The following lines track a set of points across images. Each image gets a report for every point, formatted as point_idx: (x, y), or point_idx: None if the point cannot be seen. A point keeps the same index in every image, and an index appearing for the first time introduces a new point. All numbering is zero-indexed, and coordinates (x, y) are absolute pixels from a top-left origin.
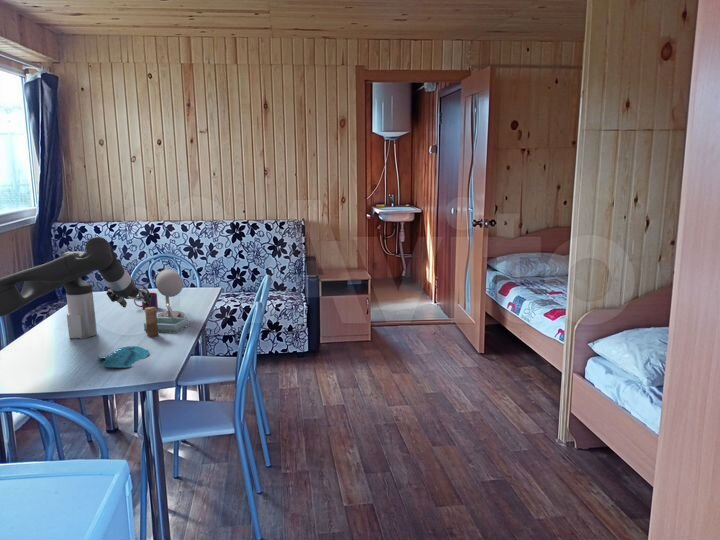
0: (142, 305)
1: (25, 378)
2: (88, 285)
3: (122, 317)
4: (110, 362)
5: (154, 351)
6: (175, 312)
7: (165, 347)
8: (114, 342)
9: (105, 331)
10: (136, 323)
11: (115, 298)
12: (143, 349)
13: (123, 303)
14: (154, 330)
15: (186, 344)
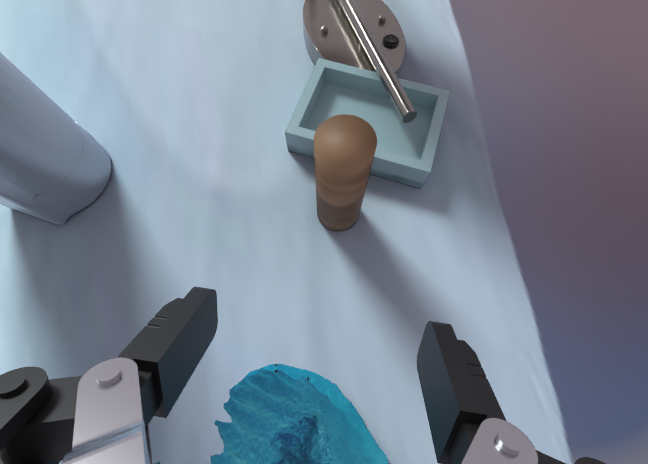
0: None
1: None
2: None
3: (176, 5)
4: None
5: (418, 458)
6: (359, 1)
7: None
8: (200, 285)
9: (140, 140)
10: (237, 67)
11: (50, 451)
12: (368, 459)
13: (188, 367)
14: (353, 217)
15: (530, 361)
